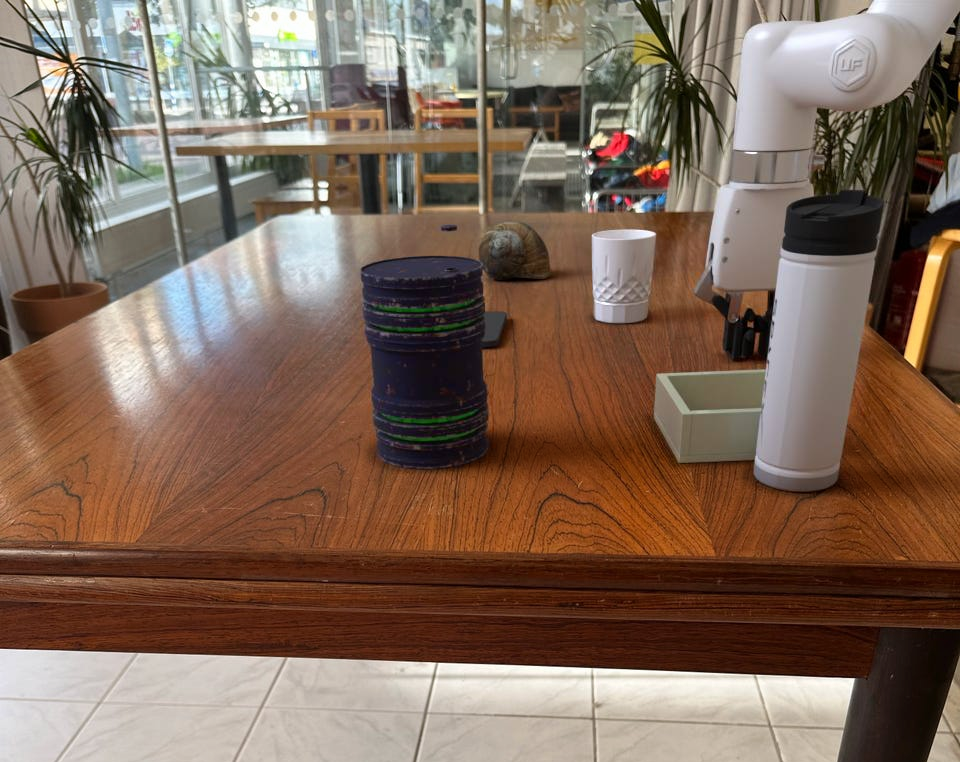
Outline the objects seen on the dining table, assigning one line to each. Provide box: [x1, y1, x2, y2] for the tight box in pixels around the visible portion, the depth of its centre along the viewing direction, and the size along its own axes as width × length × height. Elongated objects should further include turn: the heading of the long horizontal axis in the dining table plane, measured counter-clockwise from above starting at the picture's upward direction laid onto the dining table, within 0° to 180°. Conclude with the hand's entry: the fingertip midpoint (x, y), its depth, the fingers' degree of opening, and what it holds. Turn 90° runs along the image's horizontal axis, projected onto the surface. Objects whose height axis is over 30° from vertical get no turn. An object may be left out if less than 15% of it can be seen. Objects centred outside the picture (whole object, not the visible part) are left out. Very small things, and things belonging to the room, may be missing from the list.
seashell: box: [478, 220, 553, 281], centre depth 144 cm, size 11×9×8 cm
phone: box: [482, 310, 508, 348], centre depth 116 cm, size 7×1×15 cm
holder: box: [653, 368, 766, 464], centre depth 80 cm, size 12×12×4 cm
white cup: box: [591, 229, 657, 324], centre depth 118 cm, size 8×8×10 cm
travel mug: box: [753, 188, 885, 493], centre depth 68 cm, size 6×7×20 cm
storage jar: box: [359, 224, 490, 470], centre depth 77 cm, size 10×10×18 cm
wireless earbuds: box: [740, 307, 766, 360], centre depth 102 cm, size 7×2×5 cm, turn 175°
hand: (748, 355), depth 103 cm, fingers closed on wireless earbuds, 2 cm apart
